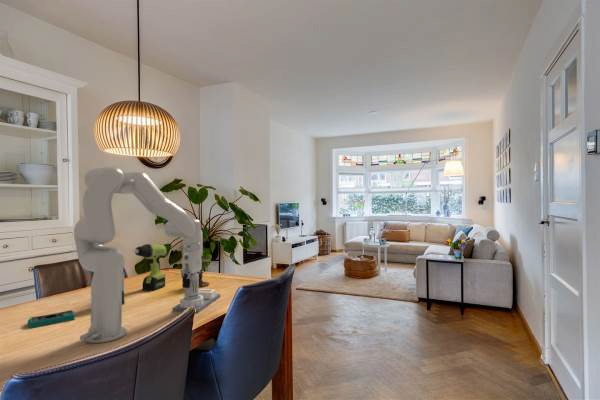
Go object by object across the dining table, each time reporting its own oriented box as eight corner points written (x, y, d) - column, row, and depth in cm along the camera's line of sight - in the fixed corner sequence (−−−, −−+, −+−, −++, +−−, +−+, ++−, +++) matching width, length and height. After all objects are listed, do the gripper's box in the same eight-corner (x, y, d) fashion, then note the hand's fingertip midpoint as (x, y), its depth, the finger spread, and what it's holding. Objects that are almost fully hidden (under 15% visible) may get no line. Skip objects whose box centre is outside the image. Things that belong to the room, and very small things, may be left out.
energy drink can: (190, 307, 144) (190, 273, 144) (181, 305, 147) (181, 271, 147) (201, 303, 149) (201, 270, 149) (192, 301, 152) (192, 269, 152)
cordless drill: (139, 296, 165) (139, 247, 165) (127, 295, 167) (127, 246, 167) (167, 285, 188) (168, 241, 188) (157, 284, 189) (157, 241, 190)
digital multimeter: (27, 324, 129) (27, 317, 129) (73, 316, 138) (73, 309, 138) (27, 330, 123) (27, 322, 123) (75, 320, 133) (75, 313, 133)
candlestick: (213, 283, 192) (213, 223, 193) (206, 288, 182) (206, 224, 182) (195, 282, 194) (195, 223, 194) (187, 287, 183) (187, 224, 183)
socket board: (198, 312, 141) (198, 302, 141) (172, 311, 143) (172, 301, 143) (220, 296, 165) (220, 287, 165) (197, 295, 167) (197, 287, 167)
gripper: (190, 249, 139) (190, 290, 139) (208, 244, 156) (207, 280, 156) (173, 249, 140) (173, 289, 140) (193, 244, 157) (192, 280, 157)
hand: (191, 285), depth 148 cm, fingers open, 9 cm apart
